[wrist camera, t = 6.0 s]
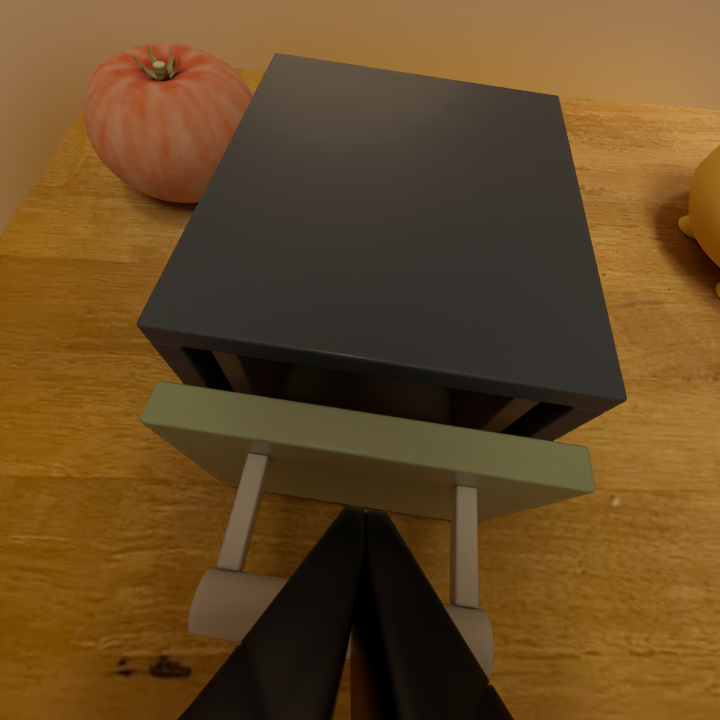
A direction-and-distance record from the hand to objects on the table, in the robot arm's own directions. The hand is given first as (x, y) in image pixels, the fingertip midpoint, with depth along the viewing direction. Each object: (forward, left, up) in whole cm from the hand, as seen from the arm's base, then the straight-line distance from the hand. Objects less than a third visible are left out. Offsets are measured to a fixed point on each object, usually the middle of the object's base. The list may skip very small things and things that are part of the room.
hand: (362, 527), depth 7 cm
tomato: (+17, +22, -11) cm, 30 cm away
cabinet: (+11, +4, -11) cm, 16 cm away
